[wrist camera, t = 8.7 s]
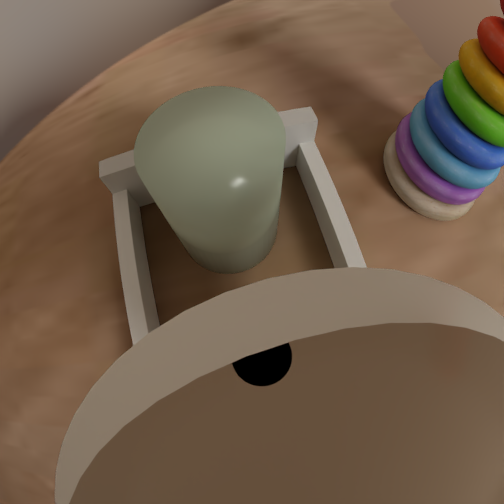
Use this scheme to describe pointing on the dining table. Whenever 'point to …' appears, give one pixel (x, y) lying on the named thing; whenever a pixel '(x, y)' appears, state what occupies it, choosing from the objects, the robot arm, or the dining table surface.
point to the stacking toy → (454, 132)
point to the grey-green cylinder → (216, 173)
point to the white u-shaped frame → (136, 195)
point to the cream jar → (301, 399)
